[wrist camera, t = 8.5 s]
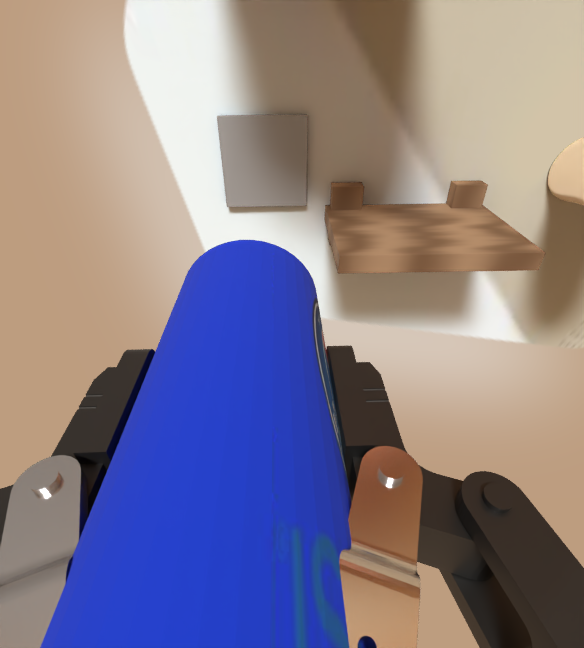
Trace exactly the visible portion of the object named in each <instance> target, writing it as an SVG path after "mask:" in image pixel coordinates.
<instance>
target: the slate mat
mask: <svg viewBox="0 0 584 648" xmlns="http://www.w3.org/2000/svg"><path fill="white" fill-rule="evenodd" d="M217 121H218V130H219V140H220V149H221V158H222V167H223V176H224V185H225V194H226V203H227V207H254V206H306V195H307V124H308V115H223V116H217Z"/></svg>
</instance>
